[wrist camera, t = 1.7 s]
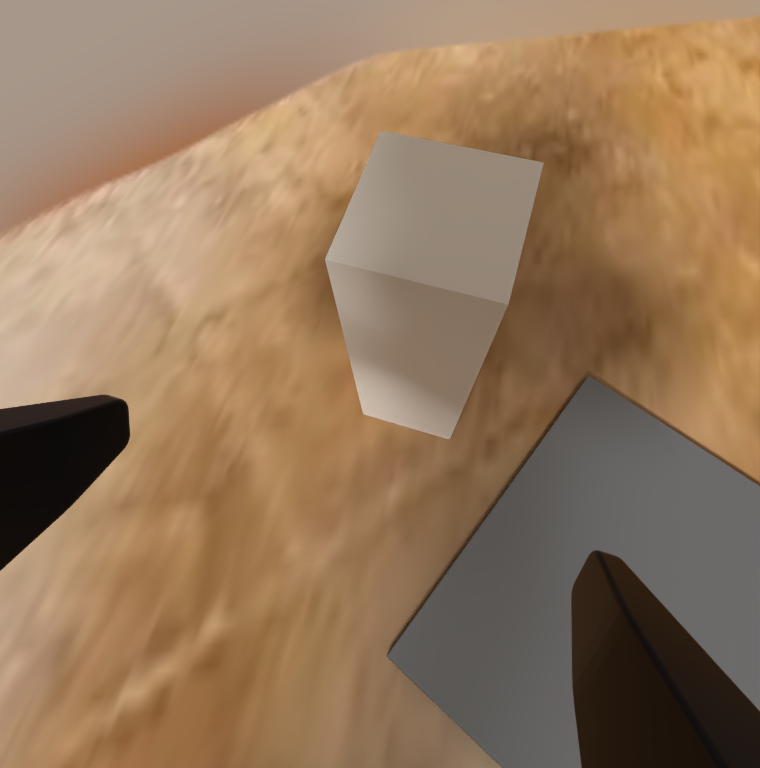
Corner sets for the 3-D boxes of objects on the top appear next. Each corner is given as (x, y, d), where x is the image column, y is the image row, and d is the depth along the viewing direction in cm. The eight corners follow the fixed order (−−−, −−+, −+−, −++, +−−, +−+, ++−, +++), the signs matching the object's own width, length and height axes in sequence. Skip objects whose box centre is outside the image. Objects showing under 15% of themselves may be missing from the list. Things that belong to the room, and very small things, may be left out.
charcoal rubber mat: (769, 1023, 14) (779, 1035, 14) (387, 654, 18) (387, 656, 18) (928, 601, 18) (939, 602, 18) (585, 378, 23) (589, 375, 22)
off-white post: (449, 439, 22) (508, 304, 10) (363, 414, 22) (325, 259, 11) (471, 359, 23) (544, 162, 12) (389, 338, 24) (381, 130, 12)
